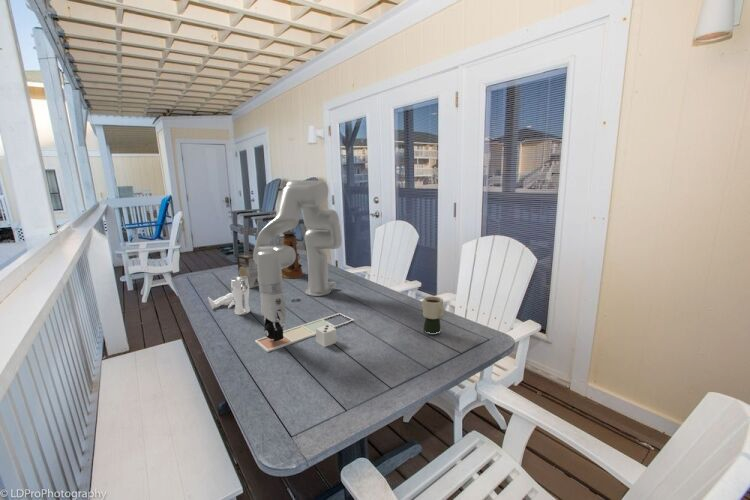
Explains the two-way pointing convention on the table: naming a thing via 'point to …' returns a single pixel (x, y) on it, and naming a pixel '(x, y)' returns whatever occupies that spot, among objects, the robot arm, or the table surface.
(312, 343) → the table surface
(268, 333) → the billiard ball
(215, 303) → the toy creature
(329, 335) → the die
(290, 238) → the lantern
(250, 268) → the coffee box
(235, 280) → the beer glass
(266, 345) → the board
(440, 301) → the character mug
